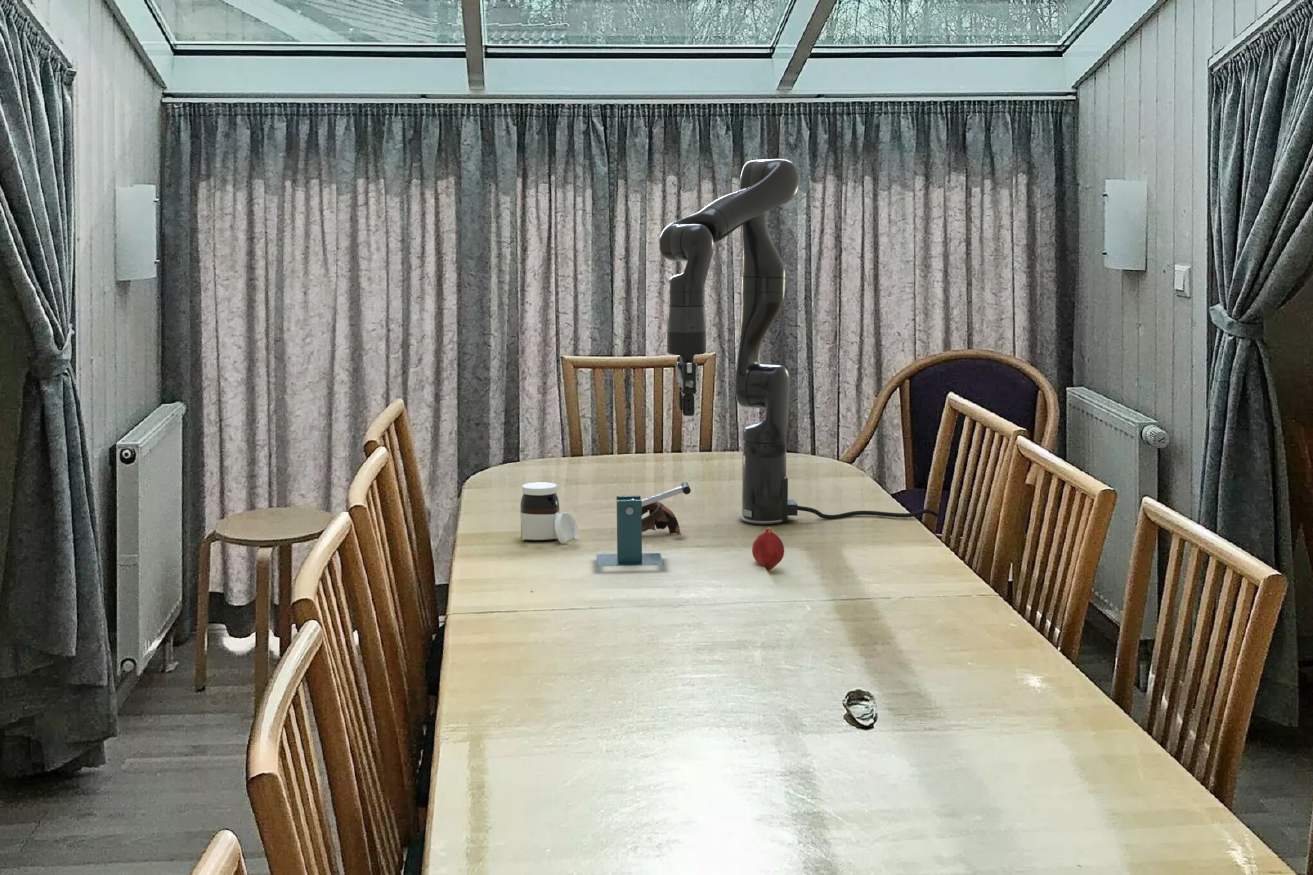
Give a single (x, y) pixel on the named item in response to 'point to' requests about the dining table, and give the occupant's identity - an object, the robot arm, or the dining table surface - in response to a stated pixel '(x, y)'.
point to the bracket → (629, 537)
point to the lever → (667, 494)
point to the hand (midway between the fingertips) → (686, 412)
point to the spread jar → (544, 515)
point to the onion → (768, 549)
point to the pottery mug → (659, 518)
